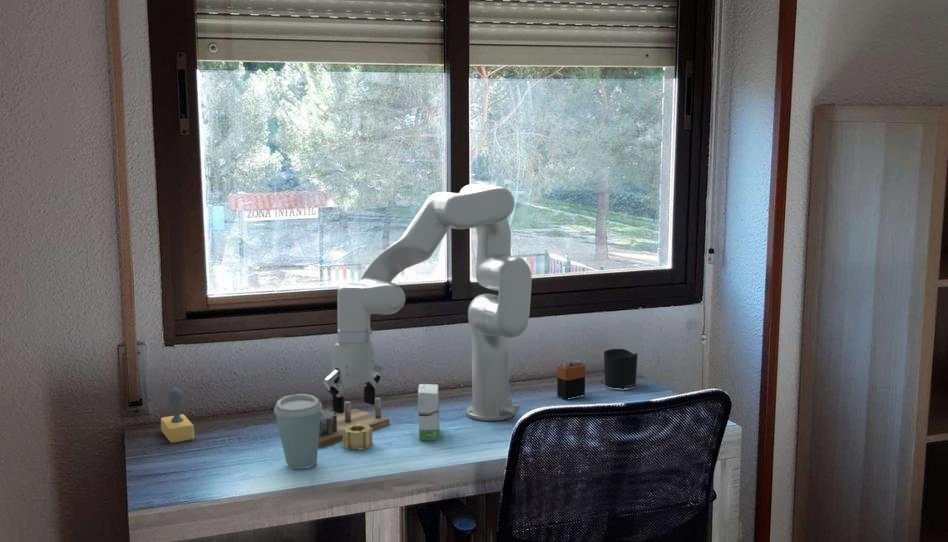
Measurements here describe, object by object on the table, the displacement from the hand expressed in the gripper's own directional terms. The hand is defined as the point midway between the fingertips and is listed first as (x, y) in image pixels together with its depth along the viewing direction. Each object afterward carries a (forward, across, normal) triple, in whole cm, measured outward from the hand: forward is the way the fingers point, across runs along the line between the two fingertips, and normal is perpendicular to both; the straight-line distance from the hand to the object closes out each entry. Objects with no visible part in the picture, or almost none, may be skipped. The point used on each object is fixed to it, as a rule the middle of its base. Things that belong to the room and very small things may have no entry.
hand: (354, 408), depth 221 cm
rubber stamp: (+10, +23, -39) cm, 46 cm away
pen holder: (+7, -82, +21) cm, 85 cm away
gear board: (+9, -5, -11) cm, 15 cm away
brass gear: (+9, -1, 0) cm, 9 cm away
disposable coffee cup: (+10, +16, 0) cm, 19 cm away
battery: (+8, -65, +16) cm, 67 cm away
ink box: (+9, -17, +8) cm, 21 cm away
